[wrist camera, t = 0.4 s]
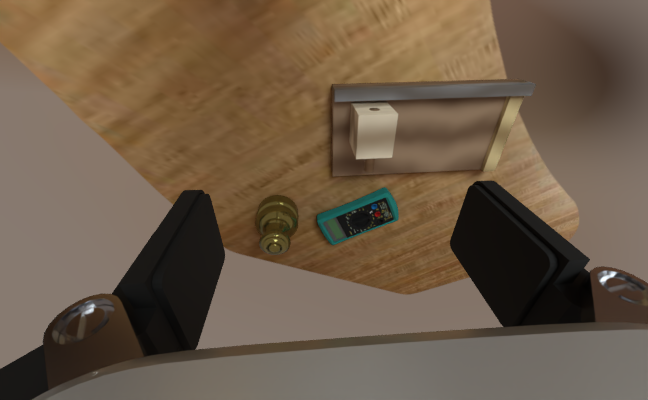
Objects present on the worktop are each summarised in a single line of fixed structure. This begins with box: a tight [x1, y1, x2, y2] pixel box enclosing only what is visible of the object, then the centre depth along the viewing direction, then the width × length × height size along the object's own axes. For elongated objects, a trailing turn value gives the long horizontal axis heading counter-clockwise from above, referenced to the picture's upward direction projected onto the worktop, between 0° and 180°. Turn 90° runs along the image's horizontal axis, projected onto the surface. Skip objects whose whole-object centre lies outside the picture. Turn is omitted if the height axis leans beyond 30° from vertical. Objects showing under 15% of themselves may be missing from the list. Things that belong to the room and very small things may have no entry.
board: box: [332, 79, 536, 176], centre depth 42 cm, size 14×28×4 cm, turn 91°
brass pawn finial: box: [255, 195, 298, 255], centre depth 47 cm, size 7×7×10 cm
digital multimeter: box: [317, 188, 398, 245], centre depth 52 cm, size 7×15×3 cm, turn 114°
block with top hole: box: [349, 101, 398, 172], centre depth 39 cm, size 9×5×6 cm, turn 1°
